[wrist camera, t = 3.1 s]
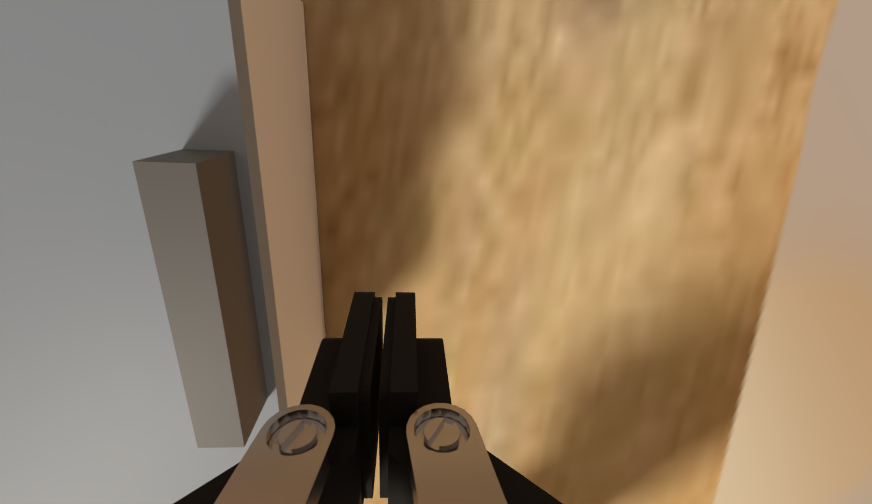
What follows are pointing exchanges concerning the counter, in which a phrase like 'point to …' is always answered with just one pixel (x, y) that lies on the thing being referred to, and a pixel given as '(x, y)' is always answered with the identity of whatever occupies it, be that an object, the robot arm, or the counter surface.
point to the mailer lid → (130, 252)
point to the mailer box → (287, 179)
